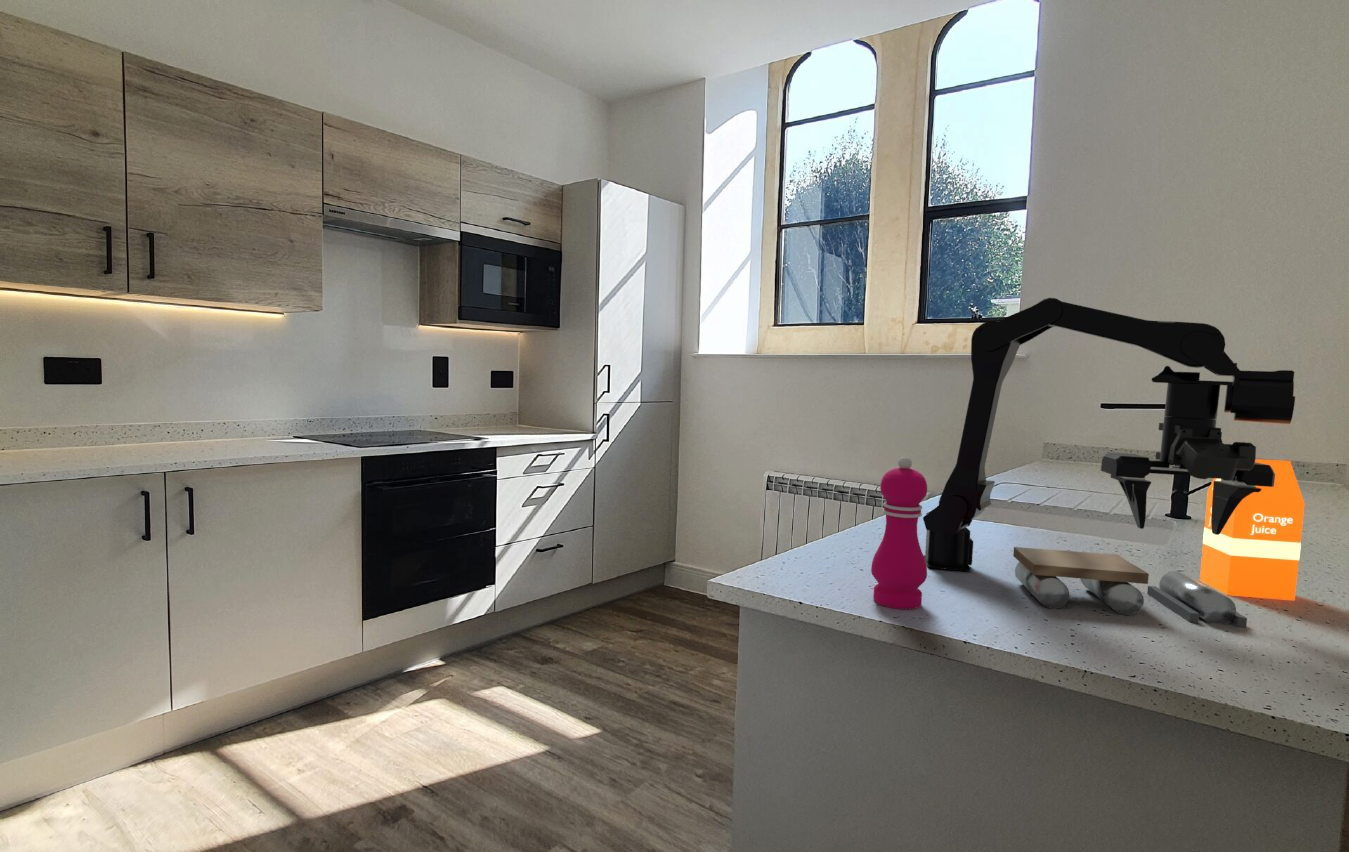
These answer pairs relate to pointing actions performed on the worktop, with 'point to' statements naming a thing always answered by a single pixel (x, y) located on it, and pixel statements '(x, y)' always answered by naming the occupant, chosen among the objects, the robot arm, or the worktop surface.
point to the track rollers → (1111, 592)
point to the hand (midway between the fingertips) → (1177, 531)
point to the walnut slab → (1079, 565)
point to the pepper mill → (900, 540)
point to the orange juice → (1257, 541)
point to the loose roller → (1199, 597)
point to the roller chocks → (1186, 607)
